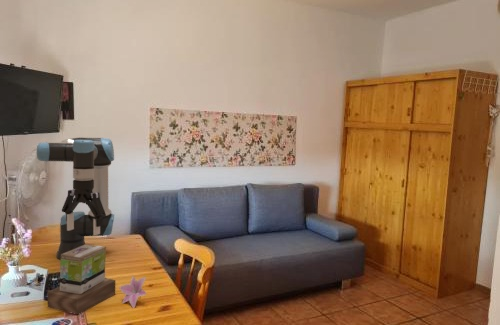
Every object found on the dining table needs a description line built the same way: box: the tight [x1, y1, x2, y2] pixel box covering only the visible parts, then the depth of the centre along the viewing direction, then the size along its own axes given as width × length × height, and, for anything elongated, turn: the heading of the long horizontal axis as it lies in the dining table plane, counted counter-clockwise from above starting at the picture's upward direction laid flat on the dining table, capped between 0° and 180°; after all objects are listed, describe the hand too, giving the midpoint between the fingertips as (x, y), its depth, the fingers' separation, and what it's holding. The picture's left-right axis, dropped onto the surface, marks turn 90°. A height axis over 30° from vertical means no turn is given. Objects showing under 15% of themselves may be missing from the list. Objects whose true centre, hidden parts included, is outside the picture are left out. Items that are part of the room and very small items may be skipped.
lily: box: [119, 275, 147, 309], centre depth 149 cm, size 12×12×10 cm
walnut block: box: [47, 277, 116, 315], centre depth 148 cm, size 15×20×6 cm
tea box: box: [59, 243, 107, 294], centre depth 148 cm, size 15×10×15 cm, turn 167°
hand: (83, 232), depth 147 cm, fingers open, 13 cm apart
